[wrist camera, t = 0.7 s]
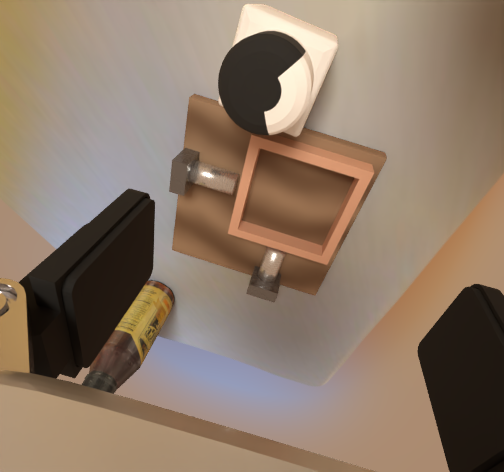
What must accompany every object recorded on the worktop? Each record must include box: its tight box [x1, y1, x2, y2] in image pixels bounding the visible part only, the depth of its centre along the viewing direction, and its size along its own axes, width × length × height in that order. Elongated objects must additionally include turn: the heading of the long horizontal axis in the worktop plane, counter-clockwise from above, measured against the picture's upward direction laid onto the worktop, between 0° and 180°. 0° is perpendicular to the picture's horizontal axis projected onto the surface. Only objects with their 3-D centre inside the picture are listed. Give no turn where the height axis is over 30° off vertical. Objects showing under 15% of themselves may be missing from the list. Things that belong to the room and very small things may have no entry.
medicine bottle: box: [218, 4, 338, 137], centre depth 25 cm, size 7×7×12 cm
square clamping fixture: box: [169, 94, 387, 302], centre depth 37 cm, size 20×20×5 cm
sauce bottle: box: [82, 281, 174, 394], centre depth 44 cm, size 6×6×20 cm
